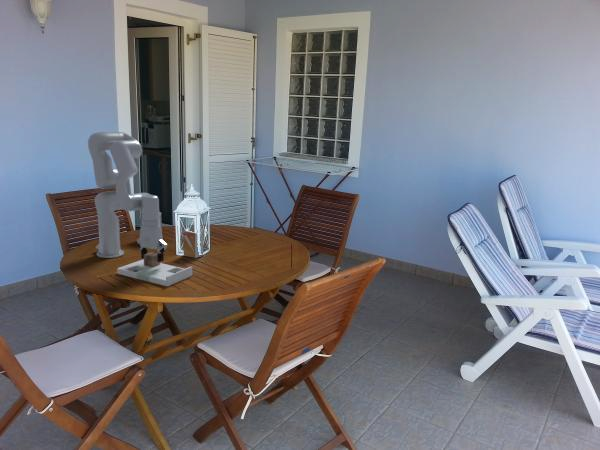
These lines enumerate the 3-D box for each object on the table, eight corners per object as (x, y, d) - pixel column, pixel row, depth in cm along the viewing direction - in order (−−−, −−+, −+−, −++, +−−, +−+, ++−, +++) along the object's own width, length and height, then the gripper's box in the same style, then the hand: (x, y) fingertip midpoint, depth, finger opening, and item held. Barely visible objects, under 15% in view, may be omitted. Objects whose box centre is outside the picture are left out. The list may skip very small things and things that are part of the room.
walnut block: (143, 265, 221) (143, 254, 220) (151, 262, 225) (151, 252, 224) (152, 267, 219) (151, 256, 218) (160, 264, 223) (159, 253, 222)
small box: (182, 255, 246) (182, 230, 243) (191, 252, 251) (191, 228, 248) (195, 258, 242) (195, 233, 239) (203, 255, 247) (203, 230, 244)
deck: (117, 273, 216) (117, 264, 215) (143, 264, 230) (143, 255, 229) (167, 286, 204) (167, 277, 203) (192, 275, 218) (192, 266, 217)
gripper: (130, 222, 218) (132, 258, 222) (159, 227, 210) (161, 264, 214) (142, 219, 224) (144, 254, 228) (171, 223, 217) (172, 260, 221)
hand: (152, 259), depth 221 cm, fingers open, 9 cm apart
